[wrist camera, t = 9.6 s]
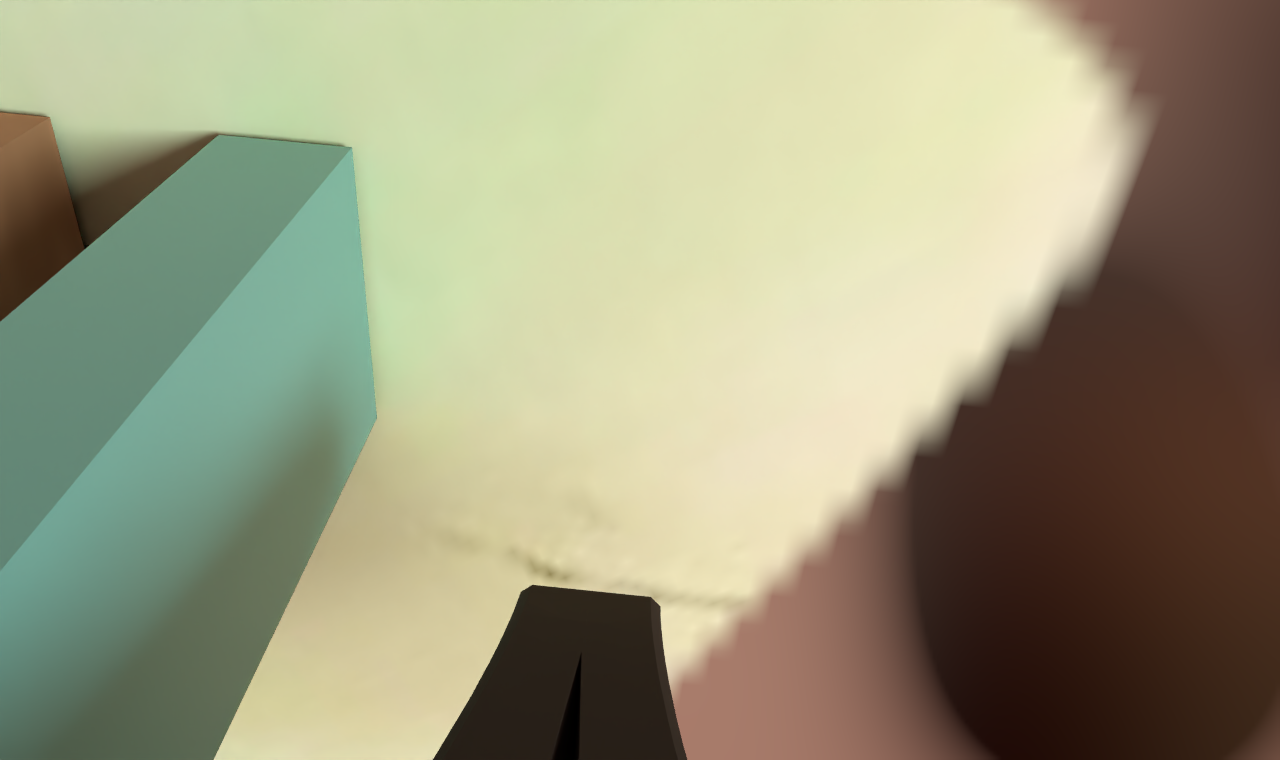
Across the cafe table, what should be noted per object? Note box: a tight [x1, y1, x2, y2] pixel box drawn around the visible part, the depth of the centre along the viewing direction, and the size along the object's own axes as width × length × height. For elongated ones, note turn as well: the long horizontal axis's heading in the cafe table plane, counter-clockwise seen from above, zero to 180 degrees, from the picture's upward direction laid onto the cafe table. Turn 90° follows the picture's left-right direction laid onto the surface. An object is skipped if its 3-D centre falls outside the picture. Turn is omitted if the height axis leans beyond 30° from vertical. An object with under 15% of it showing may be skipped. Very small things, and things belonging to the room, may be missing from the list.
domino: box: [0, 135, 377, 760], centre depth 12 cm, size 5×2×10 cm, turn 176°
